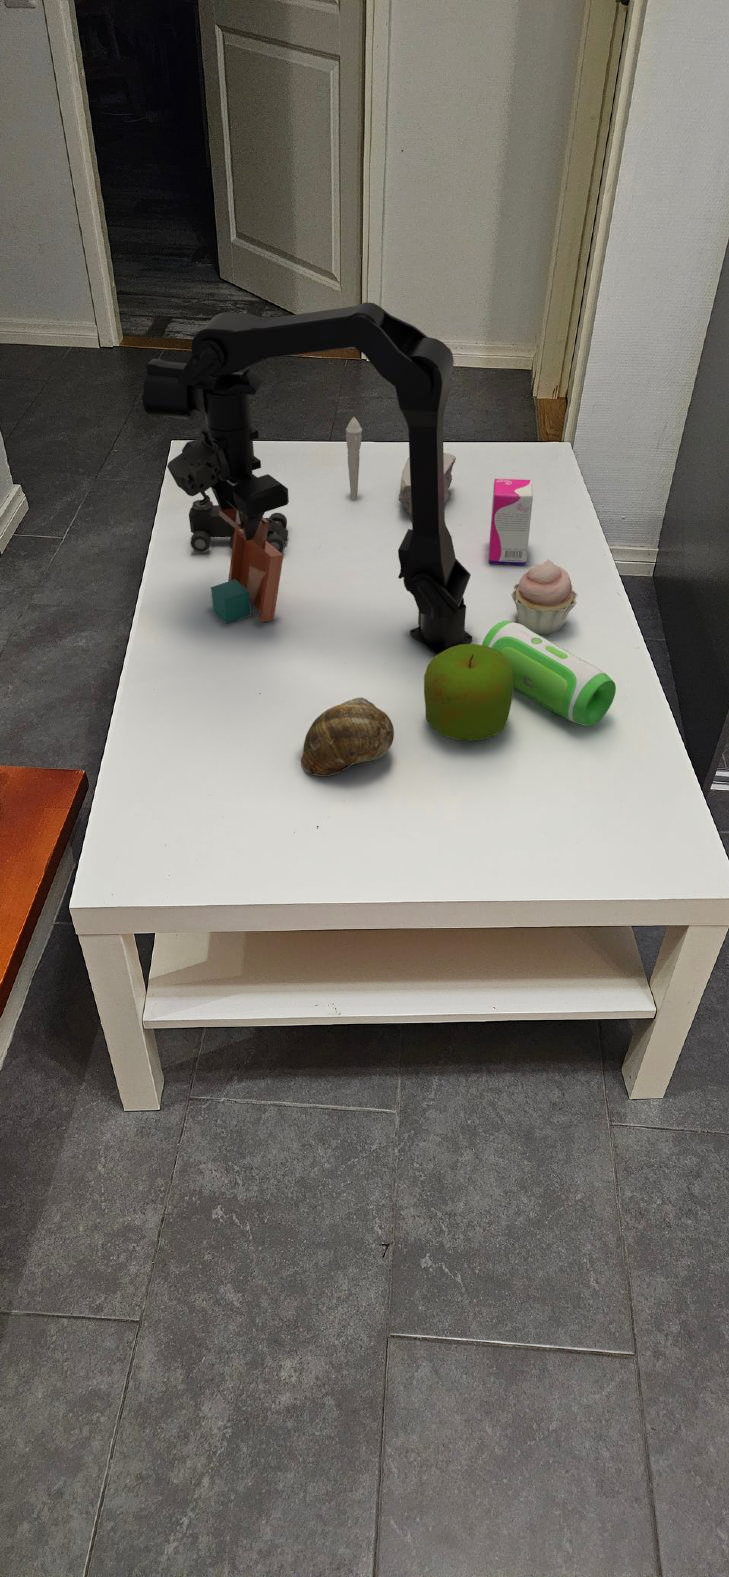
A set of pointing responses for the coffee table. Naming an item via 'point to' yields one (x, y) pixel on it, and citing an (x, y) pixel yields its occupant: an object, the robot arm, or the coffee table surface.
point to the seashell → (346, 737)
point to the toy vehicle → (227, 526)
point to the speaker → (553, 674)
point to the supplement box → (510, 521)
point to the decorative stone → (406, 485)
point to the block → (230, 601)
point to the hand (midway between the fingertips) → (239, 531)
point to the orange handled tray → (255, 565)
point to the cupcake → (544, 598)
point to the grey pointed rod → (353, 454)
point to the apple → (468, 692)
